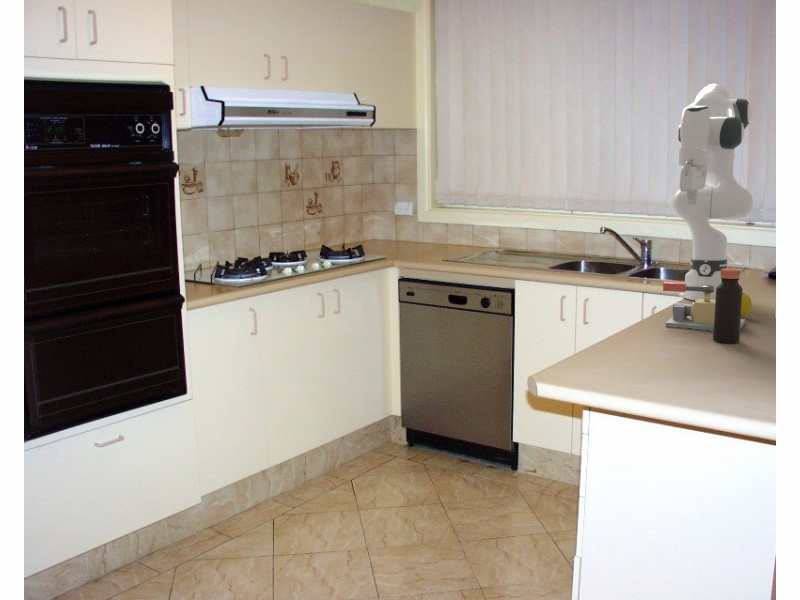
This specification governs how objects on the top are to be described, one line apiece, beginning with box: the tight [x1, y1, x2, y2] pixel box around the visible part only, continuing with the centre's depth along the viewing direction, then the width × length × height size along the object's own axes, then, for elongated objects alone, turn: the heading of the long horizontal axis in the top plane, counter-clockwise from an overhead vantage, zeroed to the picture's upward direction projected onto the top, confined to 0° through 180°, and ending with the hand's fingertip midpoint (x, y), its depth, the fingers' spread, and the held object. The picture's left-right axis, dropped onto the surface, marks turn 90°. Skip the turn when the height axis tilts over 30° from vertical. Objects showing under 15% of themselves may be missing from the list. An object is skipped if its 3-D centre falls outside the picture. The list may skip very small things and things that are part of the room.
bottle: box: [712, 267, 743, 344], centre depth 230 cm, size 7×7×20 cm
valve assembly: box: [665, 292, 746, 332], centre depth 251 cm, size 20×16×10 cm
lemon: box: [741, 292, 753, 319], centre depth 261 cm, size 6×6×8 cm
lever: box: [662, 281, 714, 293], centre depth 252 cm, size 4×14×2 cm, turn 68°
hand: (691, 205), depth 258 cm, fingers closed
